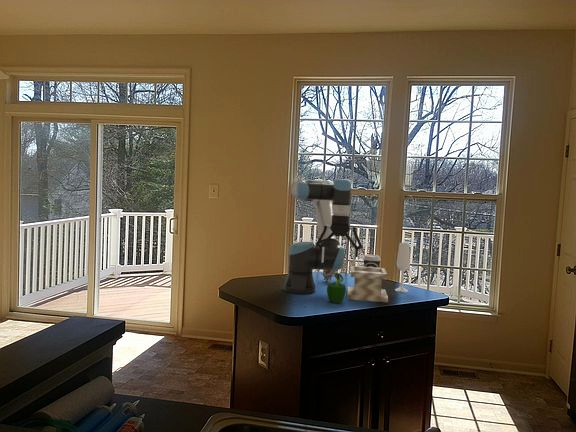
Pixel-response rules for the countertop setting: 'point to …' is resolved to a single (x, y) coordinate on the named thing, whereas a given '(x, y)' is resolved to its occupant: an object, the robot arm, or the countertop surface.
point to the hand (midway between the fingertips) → (338, 263)
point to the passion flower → (330, 273)
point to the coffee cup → (372, 261)
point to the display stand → (368, 284)
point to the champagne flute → (403, 262)
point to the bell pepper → (336, 292)
